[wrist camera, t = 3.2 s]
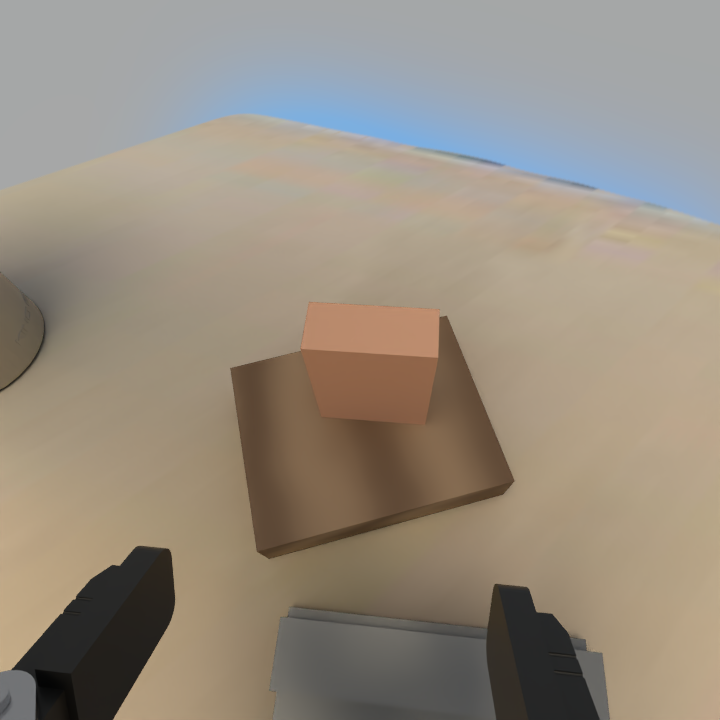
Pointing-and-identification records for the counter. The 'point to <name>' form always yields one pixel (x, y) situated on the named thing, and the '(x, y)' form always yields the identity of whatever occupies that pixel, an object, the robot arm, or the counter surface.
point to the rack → (391, 669)
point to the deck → (359, 455)
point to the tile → (371, 360)
